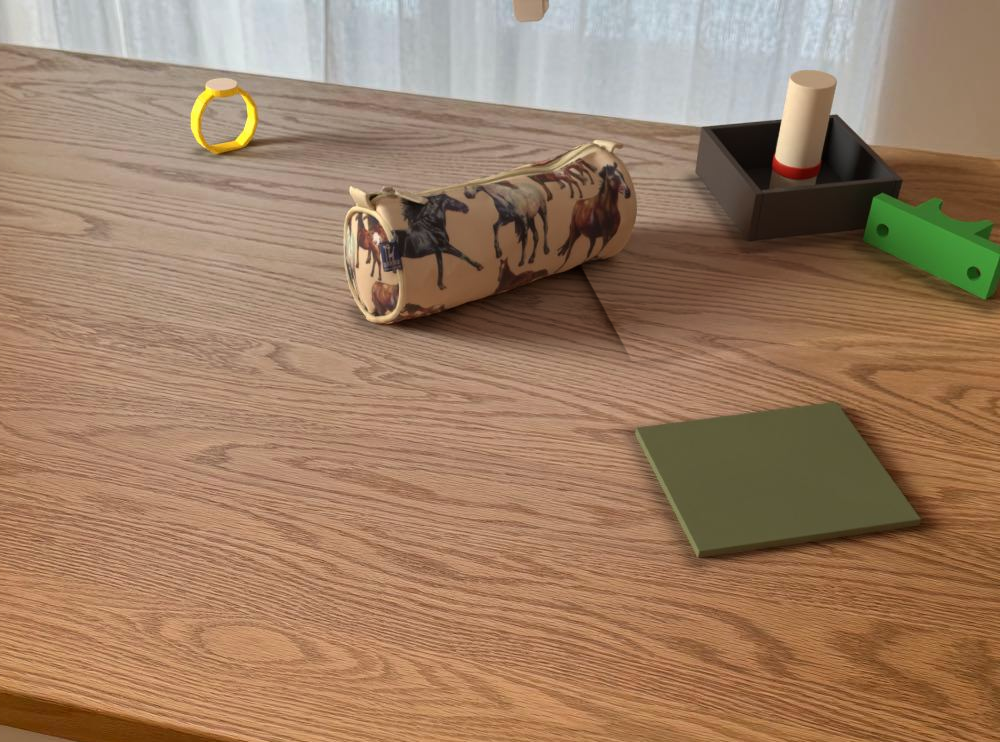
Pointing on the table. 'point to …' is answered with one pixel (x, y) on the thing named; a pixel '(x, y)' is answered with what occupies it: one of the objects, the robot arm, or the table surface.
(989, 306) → the table surface
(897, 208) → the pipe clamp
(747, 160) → the bin
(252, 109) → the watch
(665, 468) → the mat
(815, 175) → the red-banded cream cylinder
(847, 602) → the table surface
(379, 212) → the pencil case
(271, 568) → the table surface
